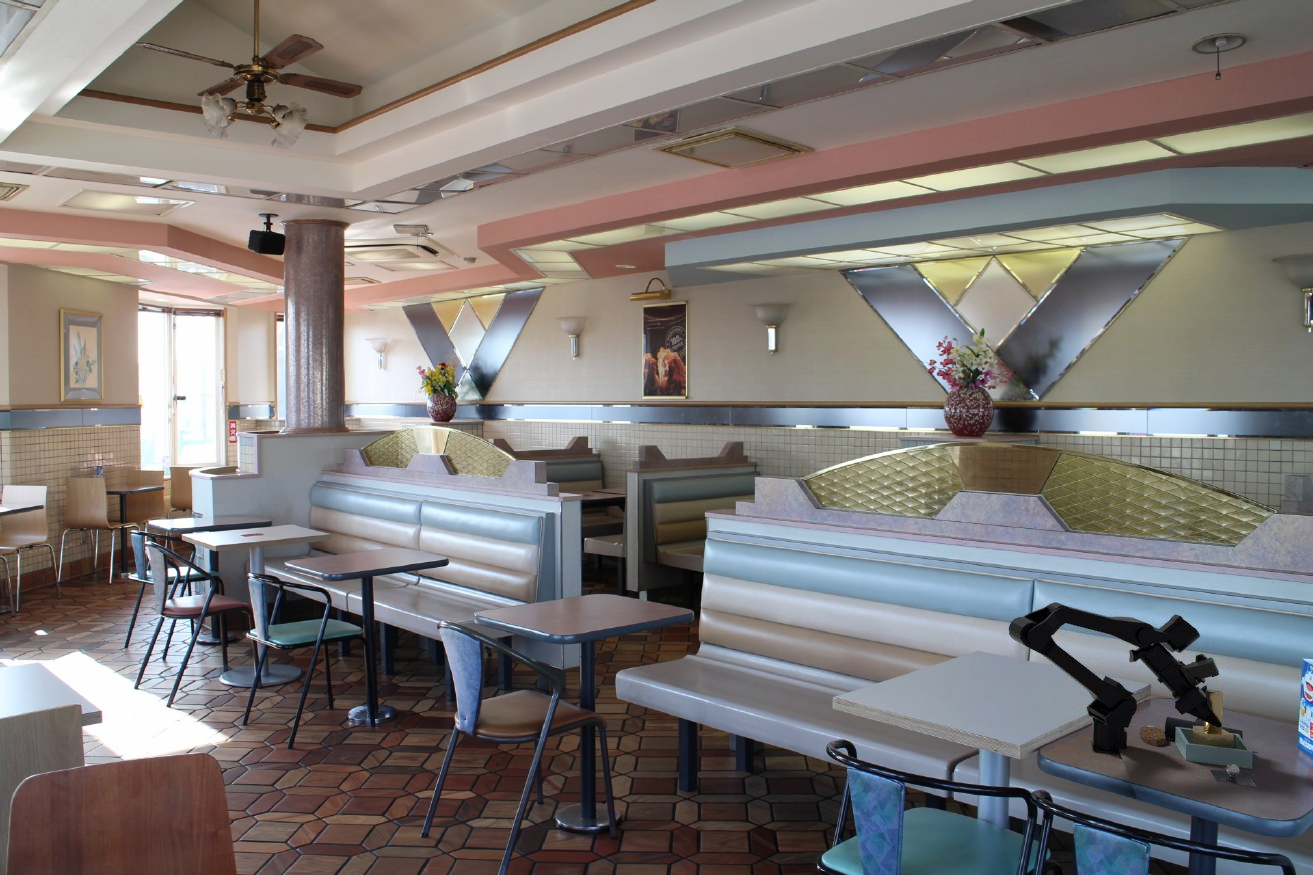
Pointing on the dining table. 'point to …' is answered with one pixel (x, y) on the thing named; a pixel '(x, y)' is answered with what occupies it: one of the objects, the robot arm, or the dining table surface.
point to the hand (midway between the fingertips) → (1220, 724)
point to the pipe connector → (1189, 726)
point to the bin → (1213, 750)
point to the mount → (1232, 776)
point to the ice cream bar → (1152, 735)
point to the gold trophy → (1208, 732)
